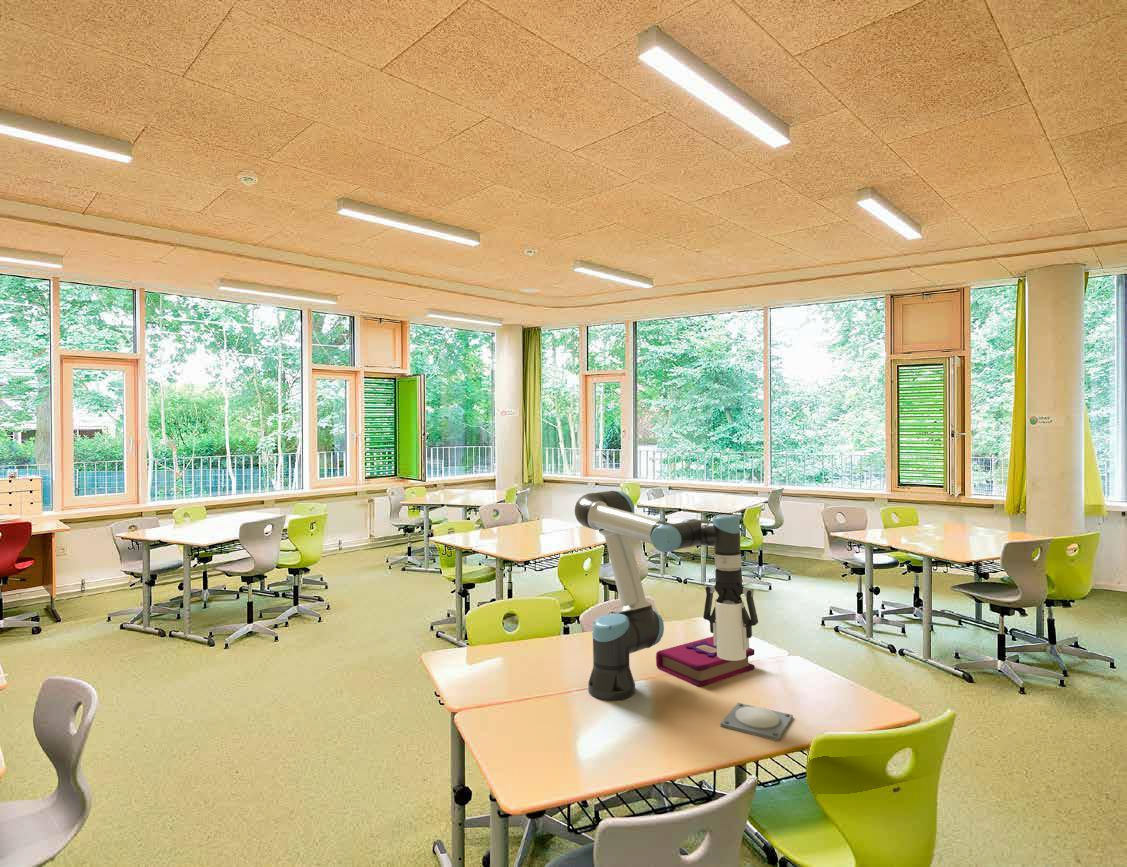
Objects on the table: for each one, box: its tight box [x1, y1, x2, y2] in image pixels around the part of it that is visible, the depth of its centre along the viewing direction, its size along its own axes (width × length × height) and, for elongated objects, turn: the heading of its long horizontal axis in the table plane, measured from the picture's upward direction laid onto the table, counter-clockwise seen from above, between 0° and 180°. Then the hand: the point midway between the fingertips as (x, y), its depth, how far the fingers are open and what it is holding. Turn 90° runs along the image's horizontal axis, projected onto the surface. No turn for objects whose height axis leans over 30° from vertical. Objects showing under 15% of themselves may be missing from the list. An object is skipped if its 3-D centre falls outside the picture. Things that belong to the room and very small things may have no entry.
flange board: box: [720, 702, 794, 741], centre depth 179 cm, size 16×16×2 cm
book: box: [655, 636, 755, 688], centre depth 220 cm, size 21×28×8 cm
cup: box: [714, 598, 746, 661], centre depth 183 cm, size 8×8×16 cm
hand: (731, 646), depth 183 cm, fingers closed on cup, 8 cm apart
